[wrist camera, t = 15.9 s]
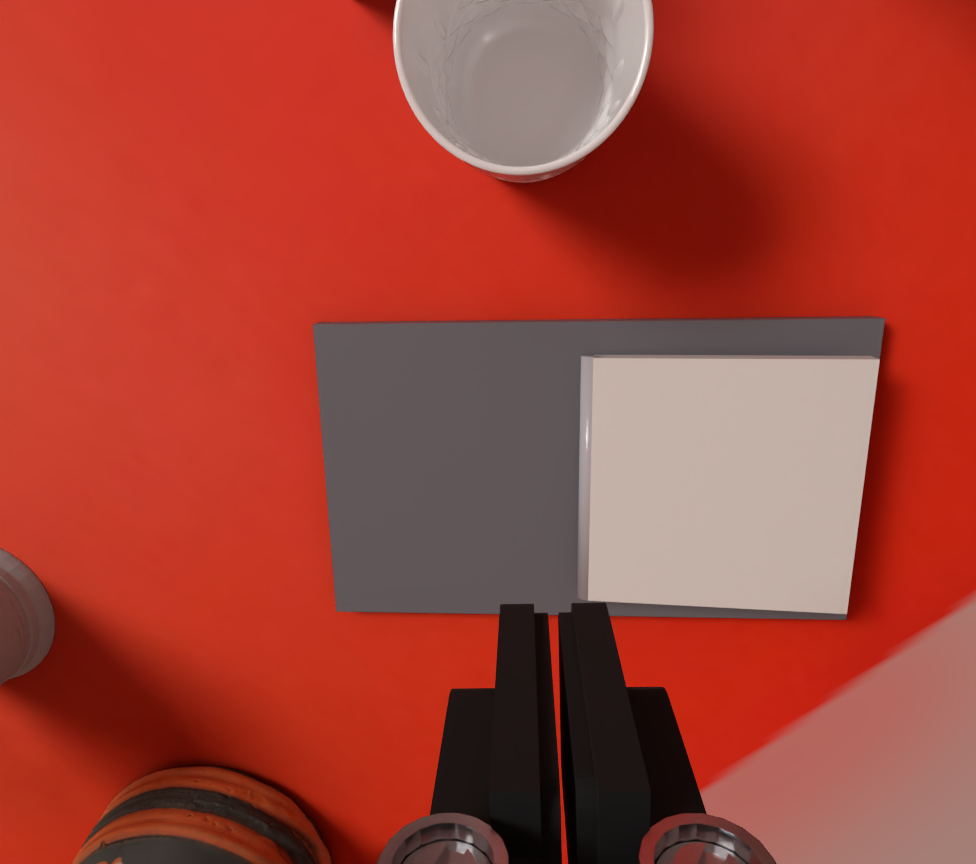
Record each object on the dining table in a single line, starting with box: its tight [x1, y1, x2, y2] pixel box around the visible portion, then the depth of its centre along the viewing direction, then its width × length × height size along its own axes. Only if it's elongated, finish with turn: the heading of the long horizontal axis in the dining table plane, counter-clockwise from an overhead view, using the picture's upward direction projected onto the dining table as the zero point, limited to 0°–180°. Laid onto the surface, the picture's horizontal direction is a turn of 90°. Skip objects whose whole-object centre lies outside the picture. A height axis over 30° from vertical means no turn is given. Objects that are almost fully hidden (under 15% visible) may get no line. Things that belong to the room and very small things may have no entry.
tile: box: [577, 355, 880, 614], centre depth 32 cm, size 13×12×1 cm
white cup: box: [393, 0, 654, 183], centre depth 26 cm, size 8×8×10 cm
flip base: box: [313, 316, 885, 620], centre depth 34 cm, size 26×15×1 cm, turn 91°
